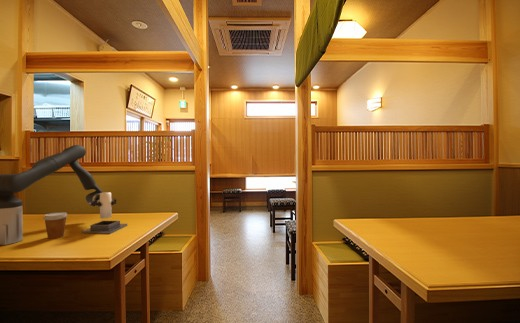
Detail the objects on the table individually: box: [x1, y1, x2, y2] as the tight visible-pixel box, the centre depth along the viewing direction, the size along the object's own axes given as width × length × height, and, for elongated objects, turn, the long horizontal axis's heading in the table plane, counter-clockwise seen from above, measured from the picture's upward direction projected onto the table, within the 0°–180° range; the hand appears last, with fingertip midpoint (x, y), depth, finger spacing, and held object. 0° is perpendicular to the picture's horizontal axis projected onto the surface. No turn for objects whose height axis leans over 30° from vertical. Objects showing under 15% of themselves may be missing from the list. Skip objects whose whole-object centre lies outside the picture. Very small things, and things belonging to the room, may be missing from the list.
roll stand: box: [81, 220, 128, 235], centre depth 138 cm, size 16×16×4 cm
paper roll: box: [99, 191, 113, 219], centre depth 138 cm, size 6×6×14 cm
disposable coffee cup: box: [43, 211, 68, 240], centre depth 124 cm, size 10×10×12 cm
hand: (106, 203), depth 136 cm, fingers closed on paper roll, 5 cm apart
